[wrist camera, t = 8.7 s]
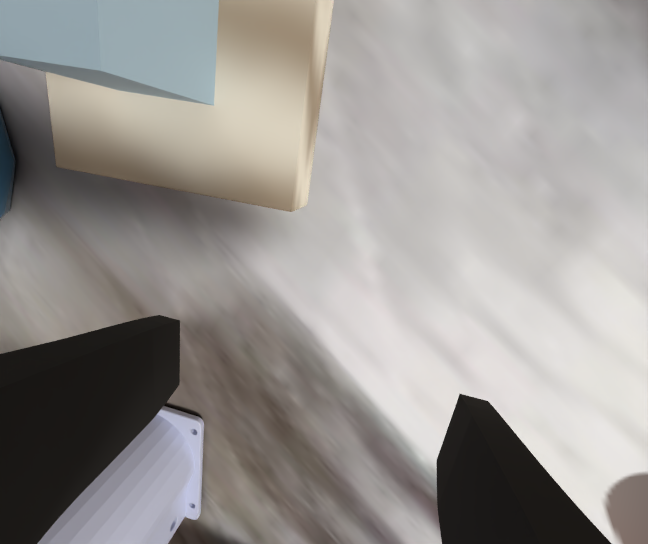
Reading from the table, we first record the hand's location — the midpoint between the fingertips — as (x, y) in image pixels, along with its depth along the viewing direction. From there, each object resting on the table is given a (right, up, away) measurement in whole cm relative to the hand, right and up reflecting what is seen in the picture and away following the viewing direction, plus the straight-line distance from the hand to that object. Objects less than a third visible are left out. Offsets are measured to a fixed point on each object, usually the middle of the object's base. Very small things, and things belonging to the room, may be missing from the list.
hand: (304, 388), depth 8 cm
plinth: (-5, +13, +7) cm, 16 cm away
